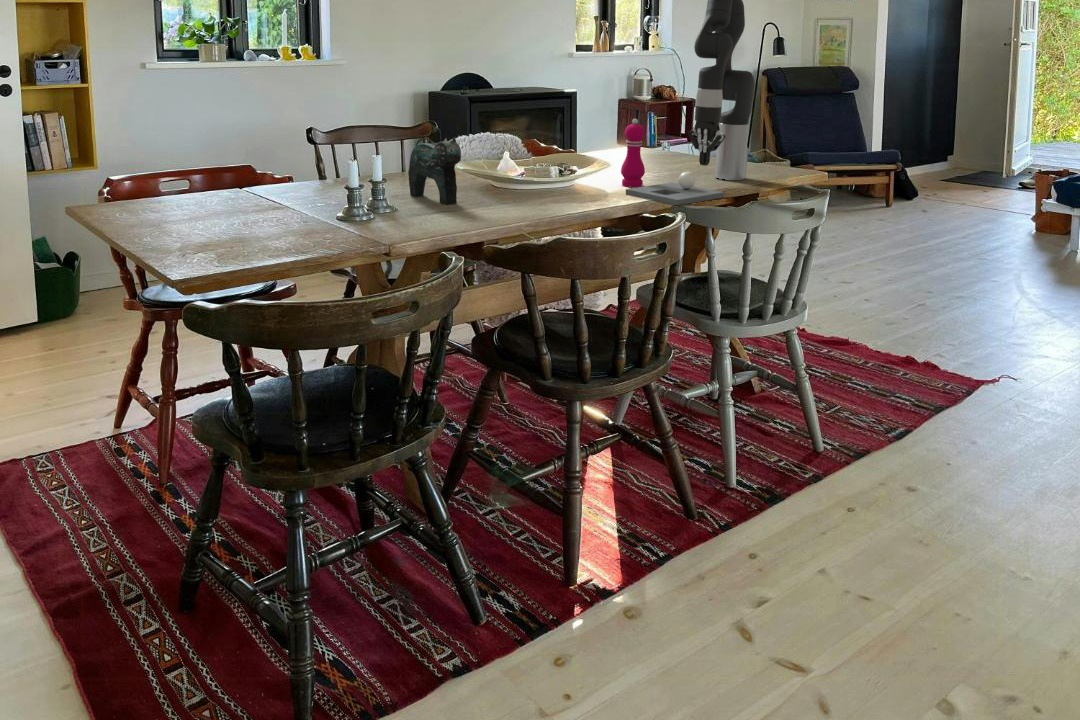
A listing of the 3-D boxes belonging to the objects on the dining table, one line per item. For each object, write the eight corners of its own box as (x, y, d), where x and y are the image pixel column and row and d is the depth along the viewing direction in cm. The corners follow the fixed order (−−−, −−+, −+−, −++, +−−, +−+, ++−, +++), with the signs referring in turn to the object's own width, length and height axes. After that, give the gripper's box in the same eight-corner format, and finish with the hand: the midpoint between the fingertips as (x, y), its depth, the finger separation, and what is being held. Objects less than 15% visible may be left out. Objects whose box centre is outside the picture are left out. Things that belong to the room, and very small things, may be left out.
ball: (685, 186, 313) (686, 169, 311) (698, 189, 309) (699, 172, 308) (674, 188, 310) (675, 171, 308) (687, 191, 306) (688, 173, 305)
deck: (672, 187, 320) (672, 182, 320) (723, 197, 306) (724, 192, 306) (625, 194, 308) (625, 189, 307) (677, 205, 294) (677, 199, 293)
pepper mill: (642, 188, 318) (646, 120, 311) (618, 187, 319) (621, 119, 312) (645, 184, 324) (648, 117, 318) (621, 183, 326) (624, 116, 319)
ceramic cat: (463, 204, 290) (463, 130, 283) (444, 207, 286) (443, 131, 279) (421, 193, 304) (420, 122, 297) (402, 195, 300) (400, 124, 293)
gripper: (735, 106, 304) (729, 167, 310) (700, 102, 314) (695, 161, 319) (717, 107, 300) (712, 169, 305) (683, 103, 309) (678, 163, 315)
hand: (704, 165), depth 312 cm, fingers closed
